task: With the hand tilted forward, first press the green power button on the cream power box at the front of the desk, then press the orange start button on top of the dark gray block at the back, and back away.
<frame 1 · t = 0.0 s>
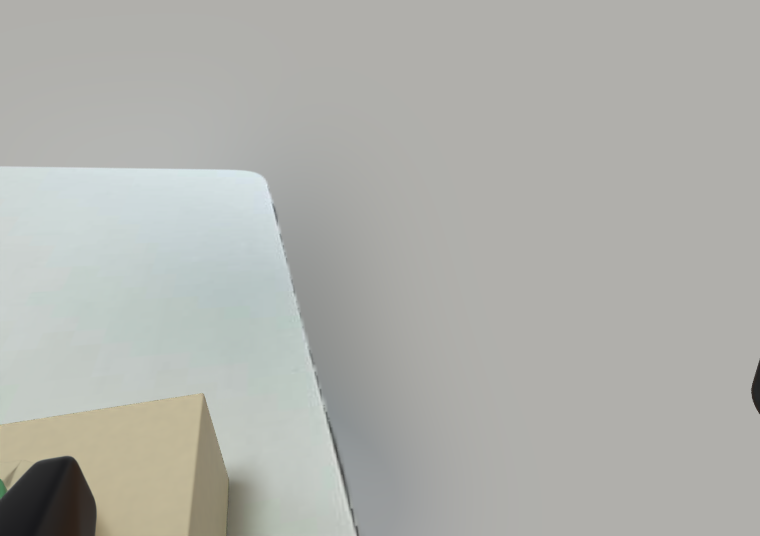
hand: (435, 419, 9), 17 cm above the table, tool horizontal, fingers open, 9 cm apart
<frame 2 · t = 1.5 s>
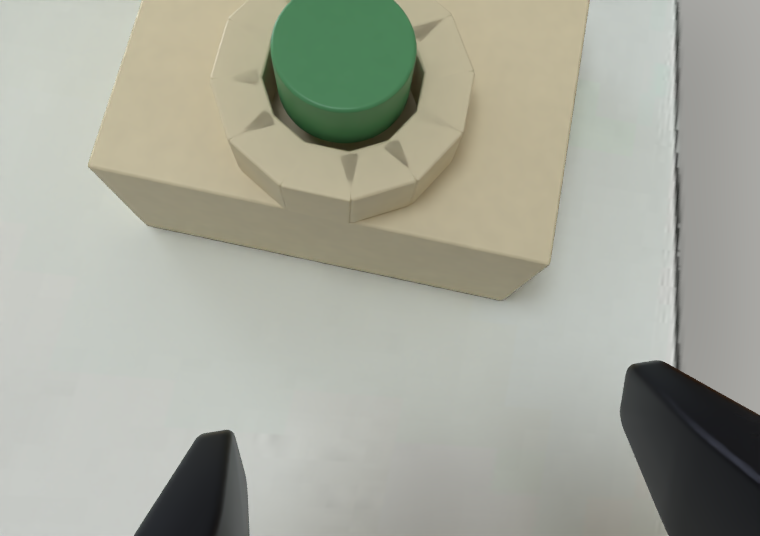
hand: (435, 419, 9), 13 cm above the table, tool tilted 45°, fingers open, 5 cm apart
power button: (343, 64, 15), point 7 cm above the table, slide at 0.1 cm
power box: (356, 125, 23), on the table
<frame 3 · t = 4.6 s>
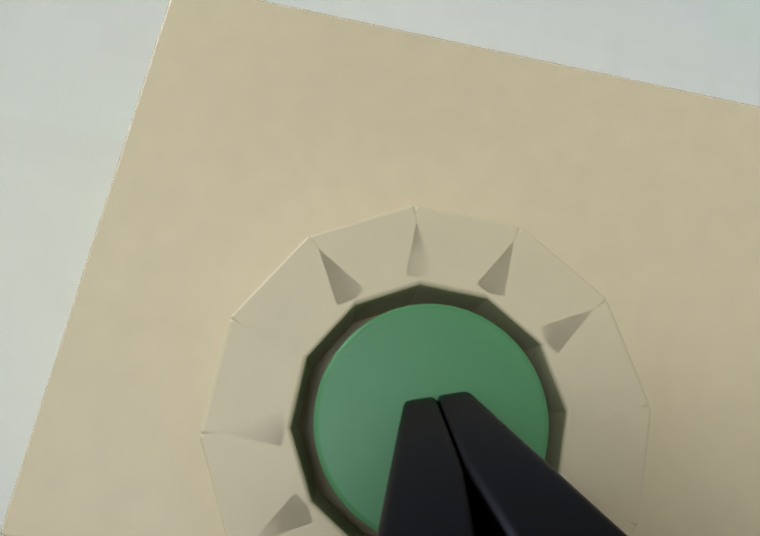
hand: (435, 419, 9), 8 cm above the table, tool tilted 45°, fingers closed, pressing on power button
power button: (425, 420, 10), point 6 cm above the table, slide at -1.0 cm, touching gripper
power box: (409, 339, 17), on the table
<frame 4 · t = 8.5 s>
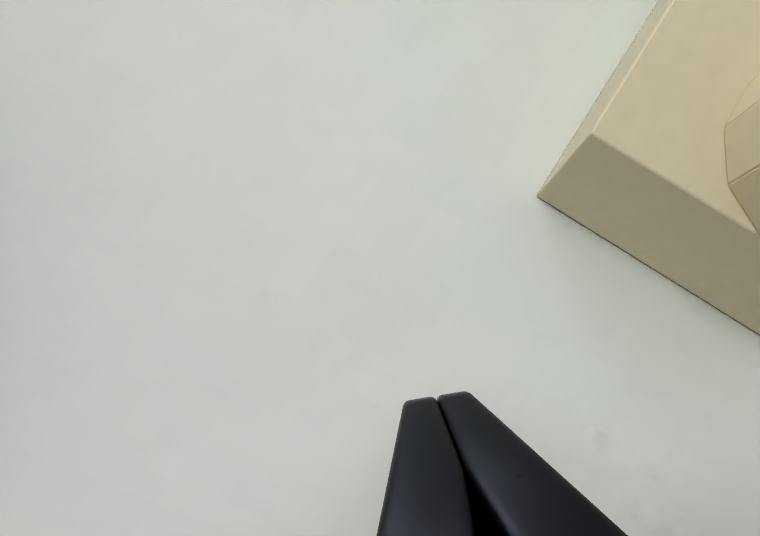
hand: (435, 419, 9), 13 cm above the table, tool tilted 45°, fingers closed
power box: (752, 175, 24), on the table
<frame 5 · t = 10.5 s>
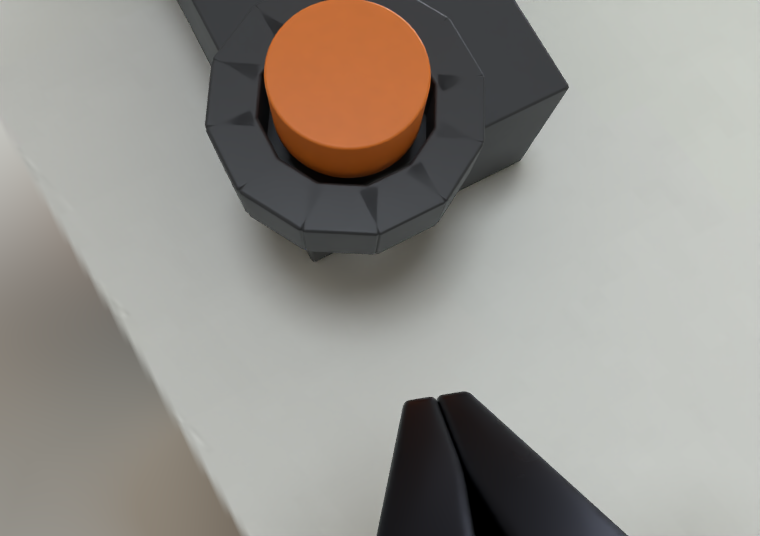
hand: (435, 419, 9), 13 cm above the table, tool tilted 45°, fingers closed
start button: (347, 90, 15), point 7 cm above the table, slide at 0.1 cm
dark gray block: (313, 19, 24), on the table
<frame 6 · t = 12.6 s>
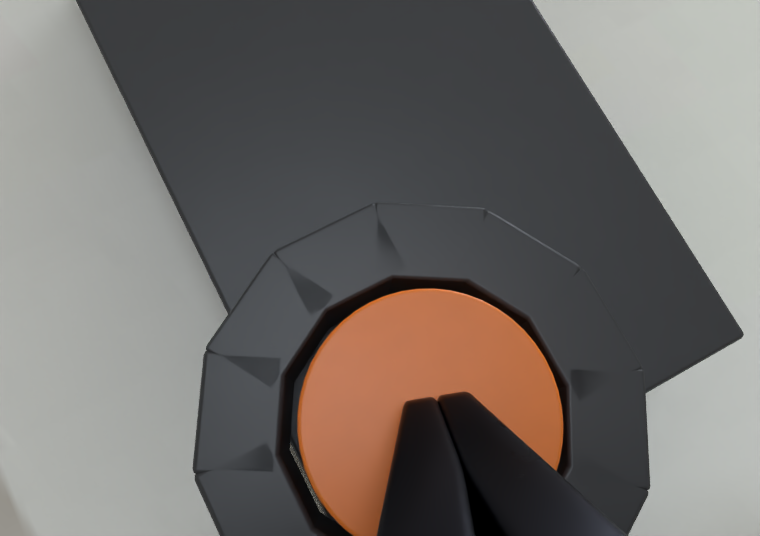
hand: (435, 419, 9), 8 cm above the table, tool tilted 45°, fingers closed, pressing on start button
start button: (424, 419, 10), point 7 cm above the table, slide at -0.6 cm, touching gripper
dark gray block: (343, 163, 18), on the table
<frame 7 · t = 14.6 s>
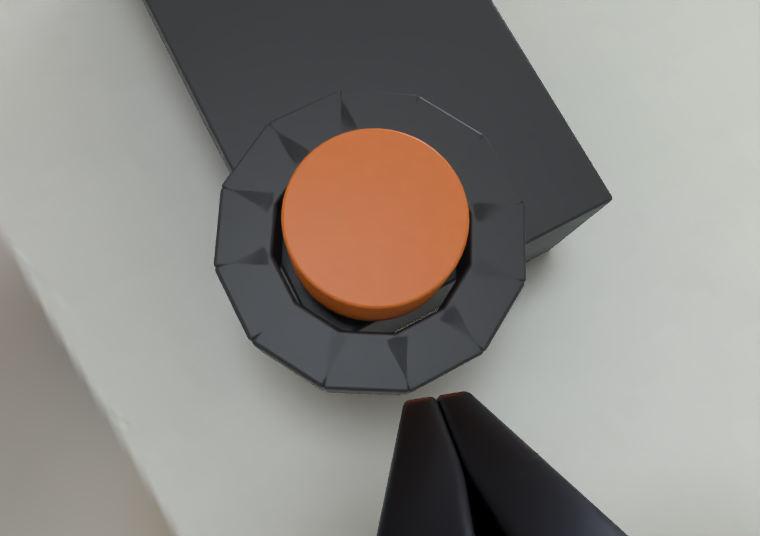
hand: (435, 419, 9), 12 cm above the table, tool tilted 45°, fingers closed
start button: (374, 227, 14), point 7 cm above the table, slide at 0.1 cm
dark gray block: (326, 94, 22), on the table
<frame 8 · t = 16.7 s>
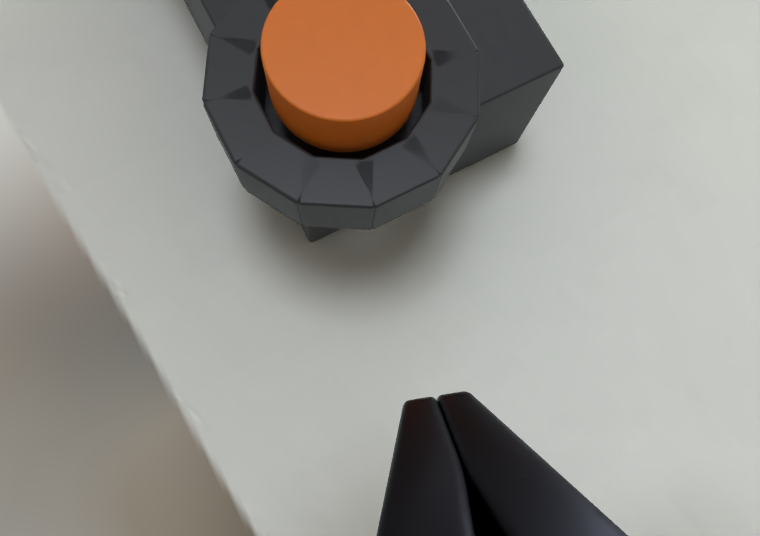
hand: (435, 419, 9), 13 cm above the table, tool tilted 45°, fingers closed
start button: (343, 65, 15), point 7 cm above the table, slide at 0.1 cm
dark gray block: (310, 2, 24), on the table
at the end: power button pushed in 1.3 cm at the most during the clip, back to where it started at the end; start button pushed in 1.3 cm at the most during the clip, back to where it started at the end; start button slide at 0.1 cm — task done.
